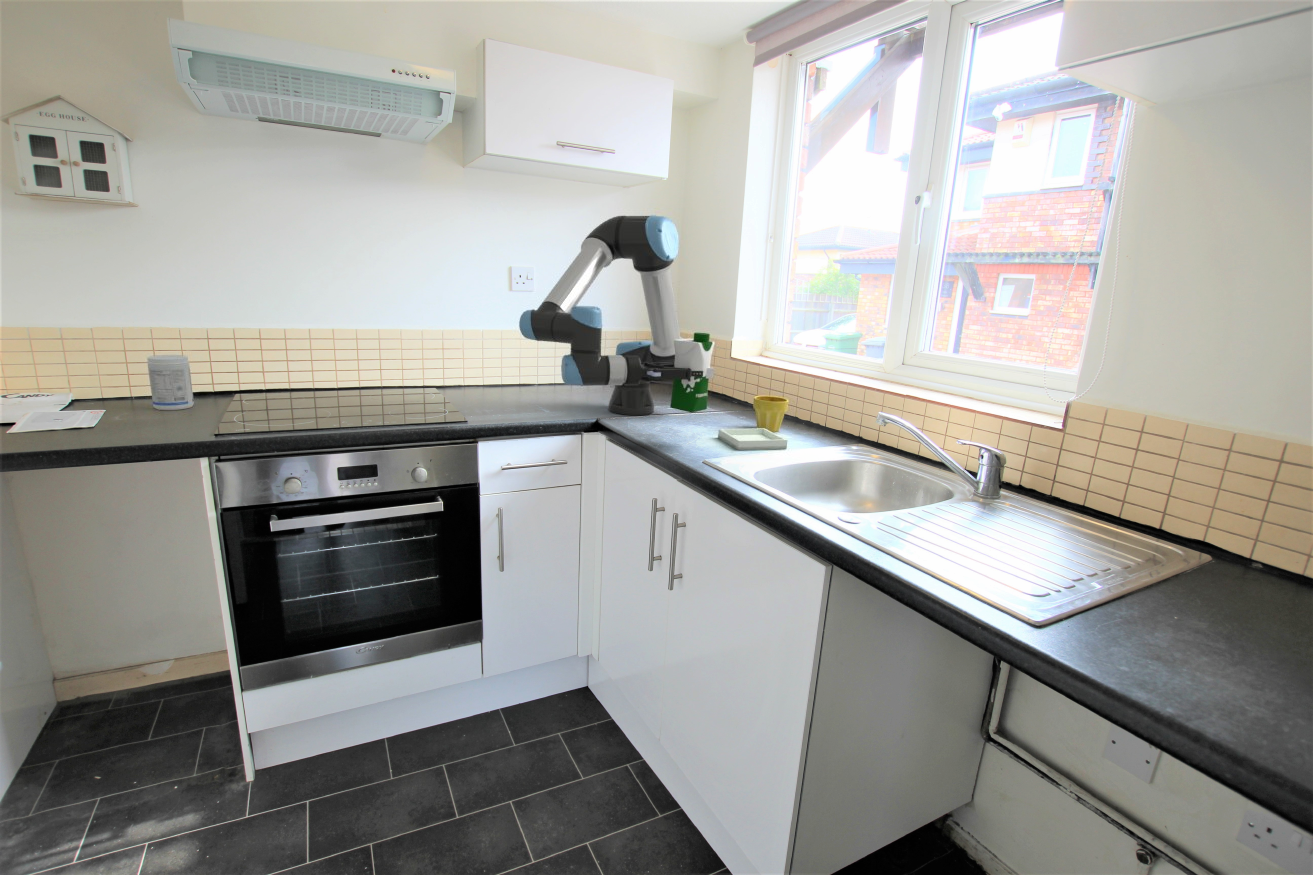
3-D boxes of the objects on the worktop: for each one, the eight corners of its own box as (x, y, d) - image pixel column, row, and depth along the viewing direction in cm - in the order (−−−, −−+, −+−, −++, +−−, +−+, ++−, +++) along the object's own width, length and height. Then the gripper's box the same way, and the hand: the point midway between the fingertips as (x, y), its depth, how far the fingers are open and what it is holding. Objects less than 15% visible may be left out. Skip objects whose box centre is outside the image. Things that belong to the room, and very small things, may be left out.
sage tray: (718, 437, 185) (718, 429, 185) (763, 436, 189) (764, 428, 189) (738, 450, 172) (739, 441, 172) (786, 448, 176) (787, 439, 176)
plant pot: (785, 435, 193) (788, 402, 191) (750, 431, 195) (752, 399, 193) (785, 428, 203) (788, 397, 201) (752, 425, 205) (754, 394, 203)
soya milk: (693, 414, 166) (700, 335, 161) (664, 407, 172) (670, 331, 166) (711, 409, 173) (718, 334, 168) (683, 403, 178) (689, 329, 173)
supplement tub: (165, 404, 191) (159, 354, 188) (200, 404, 193) (195, 355, 190) (145, 410, 182) (138, 358, 179) (183, 411, 184) (177, 359, 180)
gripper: (614, 379, 175) (694, 378, 182) (632, 392, 157) (721, 391, 164) (614, 351, 173) (696, 352, 180) (634, 360, 155) (723, 361, 162)
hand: (708, 370), depth 172 cm, fingers closed on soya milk, 7 cm apart
